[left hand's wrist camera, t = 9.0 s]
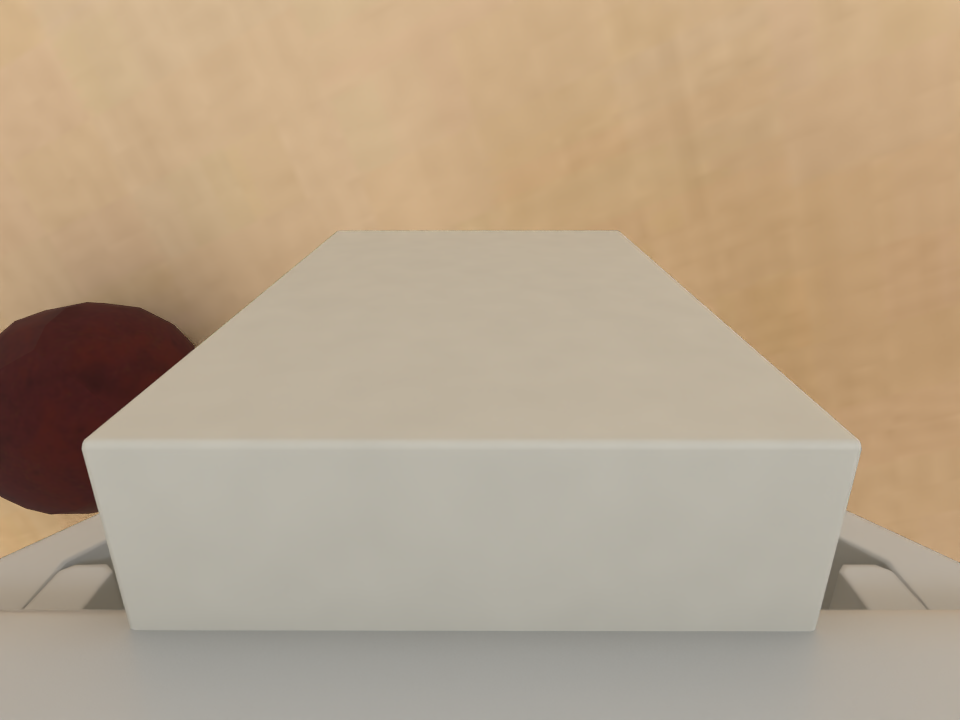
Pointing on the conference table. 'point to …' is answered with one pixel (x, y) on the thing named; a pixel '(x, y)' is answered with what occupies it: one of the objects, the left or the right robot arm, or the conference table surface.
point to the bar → (473, 453)
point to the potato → (72, 394)
